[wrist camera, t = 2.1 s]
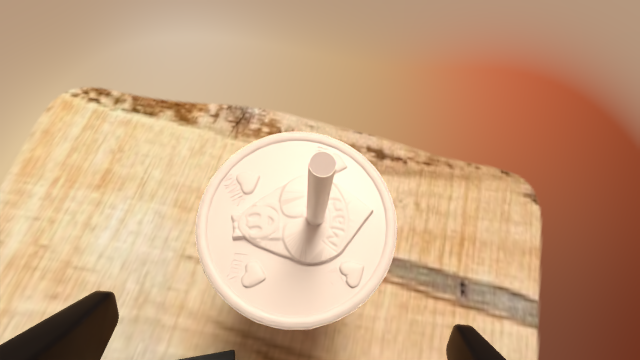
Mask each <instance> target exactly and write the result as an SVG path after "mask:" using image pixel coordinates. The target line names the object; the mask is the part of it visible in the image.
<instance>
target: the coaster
mask: <svg viewBox="0 0 640 360" xmlns="http://www.w3.org/2000/svg"><path fill="white" fill-rule="evenodd" d="M179 360H235V351H234V350H230V351H224V352H219V353H213V354H207V355H202V356H196V357H190V358H185V359H179Z"/></svg>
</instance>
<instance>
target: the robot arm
mask: <svg viewBox="0 0 640 360" xmlns="http://www.w3.org/2000/svg"><path fill="white" fill-rule="evenodd" d="M118 319H119V313H118V308H117V303H116V298H115V295H114V293H113V292H109V291H95V292H93V293H91V294H89V295H88V296H86V297H84V298H82V299H81V300H79V301H77V302H75V303H73V304H72V305H70V306H68V307H66V308H65V309H63V310H61V311H59V312H58V313H56V314H54V315H52V316H51V317H49V318H47V319H45V320H44V321H42V322H40V323H38V324H36V325H35V326H33V327H31V328H29V329H28V330H26V331H24V332H22V333H21V334H19V335H17V336H15V337H14V338H12V339H10V340H8V341H7V342H5V343H3V344H1V345H0V360H100V359H101V357H102V355H103V353H104V351H105V348H106V346H107V344H108V342H109V340H110V338H111V336H112V334H113V332H114V330H115V328H116V325H117V323H118ZM446 353H447V359H448V360H506V359H505V358H504V357H503V356H502V355H501V354H500V353H499V352H498V351H497V350H496V349H495V348H494V347H493V346H492V345H491V344H490V343H489V342H488V341H487V340H486V339H484V338H483V337H482V336H481V335H480V334H479V333H478V332H477V331H476V330H475V329H474V328H473V327H472V326H469V325H460V324H456V325H455V326H454V327H453V329H452V332H451V335H450V338H449V341H448V344H447V348H446Z"/></svg>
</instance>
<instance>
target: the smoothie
mask: <svg viewBox="0 0 640 360" xmlns="http://www.w3.org/2000/svg"><path fill="white" fill-rule="evenodd" d="M195 233H196V245H197V251H198V255H199V259H200V263H201V265H202V268H203V270H204V273H205V275H206V276H207V278H208V280H209V282H210V283H211V285H212V286H213V288H214V289H215V291H216V292H217V293H218V294H219V296H220V297H221V298H222V299H223V300H224V301H225V302H226V303H227V304H228V305H229V306H231V307H232V308H233V309H235V310H236V311H237V312H239V313H240V314H242V315H244V316H245V317H247V318H249V319H251V320H253V321H254V322H257V323H260V324H263V325H266V326H270V327H274V328H277V329H280V330H310V329H314V328H317V327H320V326H324V325H327V324H331V323H334V322H337V321H338V320H340V319H341V318H343V317H345V316H347V315H349V314H350V313H352V312H353V311H355V310H356V309H357V308H359V307H360V306H361V305H362V304H363V303H365V302H366V301H367V300H368V299H369V298H370V297H371V295H372V294H373V293H374V292H375V291H376V289H377V288H378V287H379V285H380V284H381V282H382V281H383V279H384V277H385V276H386V274H387V271H388V269H389V267H390V265H391V262H392V259H393V256H394V251H395V247H396V240H397V218H396V212H395V207H394V203H393V200H392V197H391V194H390V192H389V190H388V187H387V185H386V183H385V182H384V180H383V178H382V177H381V175H380V174H379V172H378V171H377V170H376V168H375V167H374V166H373V165H372V164H371V163H370V162H369V161H368V160H367V159H366V158H365V157H364V156H363V155H362V154H360V153H359V152H358V151H356V150H355V149H353V148H352V147H350V146H349V145H347V144H345V143H343V142H341V141H339V140H337V139H334V138H332V137H328V136H325V135H321V134H317V133H310V132H285V133H278V134H274V135H270V136H267V137H264V138H261V139H258V140H256V141H254V142H252V143H250V144H248V145H246V146H244V147H243V148H241V149H240V150H238V151H237V152H236V153H234V154H233V155H232V156H230V157H229V158H228V159H227V160H226V161H225V162H224V163H223V164H222V165H221V167H220V168H219V169H218V170H217V171H216V173H215V174H214V175H213V177H212V178H211V180H210V182H209V183H208V185H207V187H206V189H205V191H204V193H203V196H202V198H201V201H200V204H199V208H198V212H197V219H196V232H195Z"/></svg>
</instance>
